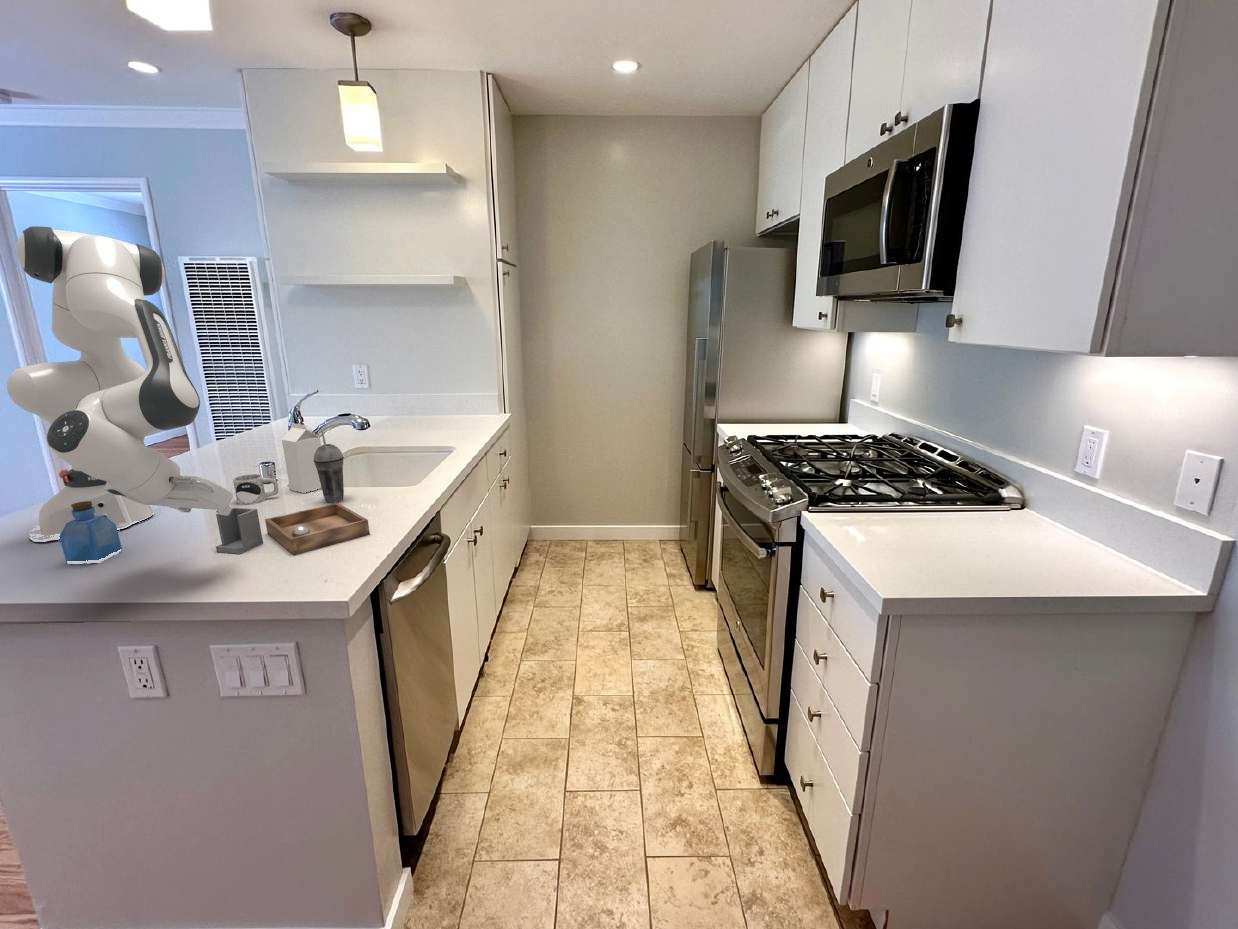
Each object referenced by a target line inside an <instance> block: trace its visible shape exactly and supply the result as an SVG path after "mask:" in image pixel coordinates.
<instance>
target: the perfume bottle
mask: <svg viewBox="0 0 1238 929" xmlns="http://www.w3.org/2000/svg"><path fill="white" fill-rule="evenodd" d="M71 506H72V508H73V510H72V515H73V516H75V520H72V521H70V522H67V523H66V525H65V527H64V529H63V531H62V533H61V534H60V536H59V537H60V540H59V542H60V544H61V549H62V551H63V555H64V559H65V562H66V561H86V560H87V561H88V560H99V559H101V558H105V557H106V556H108V555H109V554H111V553H113V552H117V551H118V550H120V549H122V550H123V548H122V544H121V540H120V536H119V531H117V527H116V524H114V523H113V522H112V521H110V520H109V519H108V518H106V517H105V516H104V515H101V516H94V513H95V508H94V507H92V502H91V501H84V502H78V503H74V504H72V505H71Z"/></svg>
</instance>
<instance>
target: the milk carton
mask: <svg viewBox="0 0 1238 929" xmlns="http://www.w3.org/2000/svg"><path fill="white" fill-rule="evenodd" d="M281 442H282V450H283V455H284V460H285V461H284V462H285V466H286V467H285V468H286V474H287V475H286V476H287V481H288V485H289V486H288V487H289V490H291V491H293V492H296V491H298V492H297V493H300V492H301V494H306V492H307V493H310V491H311V492H314V491H317V489H318V490H322V487H321V483H320V479H319V475H318V471H317V469H316V466H315V463H314V462H313V461H314V454H315V452H316V450H317V449H318V448H319V447H320V446H322V443H321V437H320V436H318V435H317V434H316V433H314V432H313V430H312V429H311V428H310V427H307V425H306V424H298V423H293V422H291V428H290V429H289V430H288V431H287V433H286V434H285V435H284V436H283V437H282V438H281Z"/></svg>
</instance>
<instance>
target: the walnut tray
mask: <svg viewBox="0 0 1238 929" xmlns="http://www.w3.org/2000/svg"><path fill="white" fill-rule="evenodd" d="M264 522H265V527H266V528H265V529H266V532H267V534H268V535H269V536H270V537H271V538H273V540H275V541H276V542H277V543H278V544H279V545H281V546H282V547H283V548H284V549H286V550H287V551H288V552H289V553H290V554H292V555H293V556H296V555H298V554H304V553H307V552H310V551H313V550H317V549H321V548H325V547H328V546H331V545H332V546H333V545H336V544H340V543H343V542H347V541H350V540H354V539H357V538H361V537H365V536H369V535H370V534H371V533H370V526H369V520H368V518H366V517H364V516H362V515H360V514H359V513H356V512H355V511H353V510H351V509H350V508H348V507H346V506H344V505H342V504H340V502H337V503H329V504H326V505H322V506H318V507H317V506H316V507H313V508H307V509H305V510H301V511H295V512H291V513H287V514H282V515H277V516H272V517H269V518H265V519H264ZM301 525H302V526H306V527H308V528H309V530H310V533H309V534H305V535H302V536H298V537H293V536H292V531H293V529H294V528H295V527H297V526H301Z"/></svg>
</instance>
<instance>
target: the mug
mask: <svg viewBox="0 0 1238 929" xmlns="http://www.w3.org/2000/svg"><path fill="white" fill-rule="evenodd" d="M232 481H233V488H234V493H235V498H236V502H237V503H238V505H239V504H241V505H240V506H248V505H255V504H260V503H262V502H265V501H266V500H267V498H268V497H269V498H270V497H272V496H277V495H278V494H279V484H278V481H277V479H276V478H273V477H272V478H271V477H263V474H260V473H259V474H258V473H257V474H256V473H255V474H253V473H251V474H245V475H243V474H242V475H239V476H236V477H233V479H232ZM265 483H272V486H273V491H271V492H270V491H269V492H268V491H267V492H266V491H265V485H264V484H265Z"/></svg>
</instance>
